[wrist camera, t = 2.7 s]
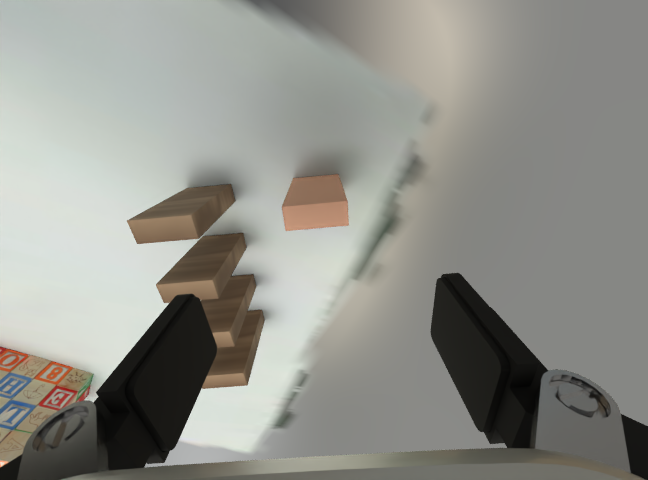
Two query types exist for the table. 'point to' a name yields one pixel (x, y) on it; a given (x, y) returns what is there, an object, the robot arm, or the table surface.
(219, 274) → the domino
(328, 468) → the robot arm
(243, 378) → the domino
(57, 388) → the stack of blocks
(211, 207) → the domino
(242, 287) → the domino
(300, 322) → the table surface
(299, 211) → the end domino
